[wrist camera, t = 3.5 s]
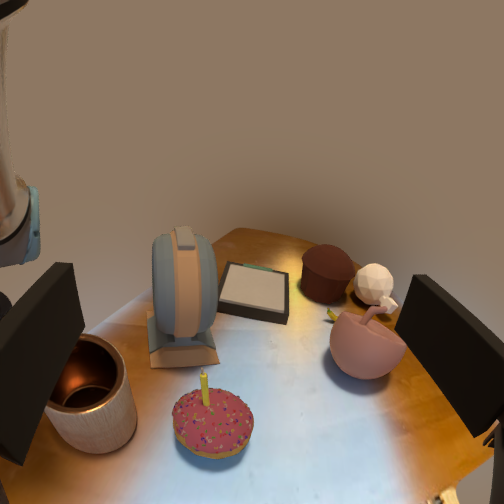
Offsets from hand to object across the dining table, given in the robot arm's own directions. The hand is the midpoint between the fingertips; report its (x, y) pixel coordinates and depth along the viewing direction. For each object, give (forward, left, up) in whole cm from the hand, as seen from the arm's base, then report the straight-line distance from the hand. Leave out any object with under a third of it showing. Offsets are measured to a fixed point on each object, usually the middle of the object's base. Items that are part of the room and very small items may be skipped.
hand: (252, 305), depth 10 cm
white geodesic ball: (+26, +42, -27) cm, 56 cm away
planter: (-15, +5, -27) cm, 31 cm away
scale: (+1, +38, -26) cm, 47 cm away
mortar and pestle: (+19, +23, -27) cm, 40 cm away
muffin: (+15, +44, -27) cm, 54 cm away
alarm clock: (-9, +23, -27) cm, 37 cm away
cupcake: (-1, +7, -27) cm, 28 cm away
